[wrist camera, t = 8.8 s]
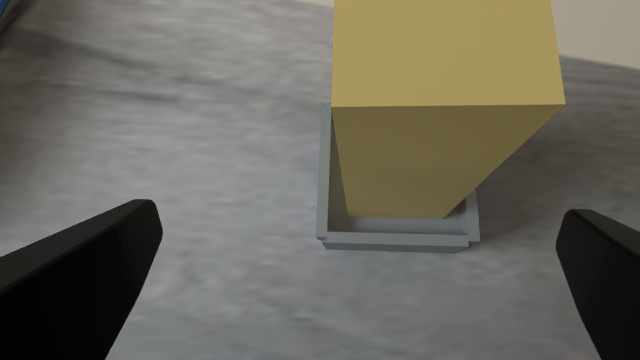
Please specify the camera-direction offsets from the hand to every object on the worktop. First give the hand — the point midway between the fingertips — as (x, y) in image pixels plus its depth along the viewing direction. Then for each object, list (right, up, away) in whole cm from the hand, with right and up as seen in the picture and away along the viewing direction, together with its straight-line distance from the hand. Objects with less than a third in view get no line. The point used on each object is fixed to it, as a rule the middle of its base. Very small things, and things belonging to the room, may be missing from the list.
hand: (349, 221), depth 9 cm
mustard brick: (+3, +1, +11) cm, 12 cm away
